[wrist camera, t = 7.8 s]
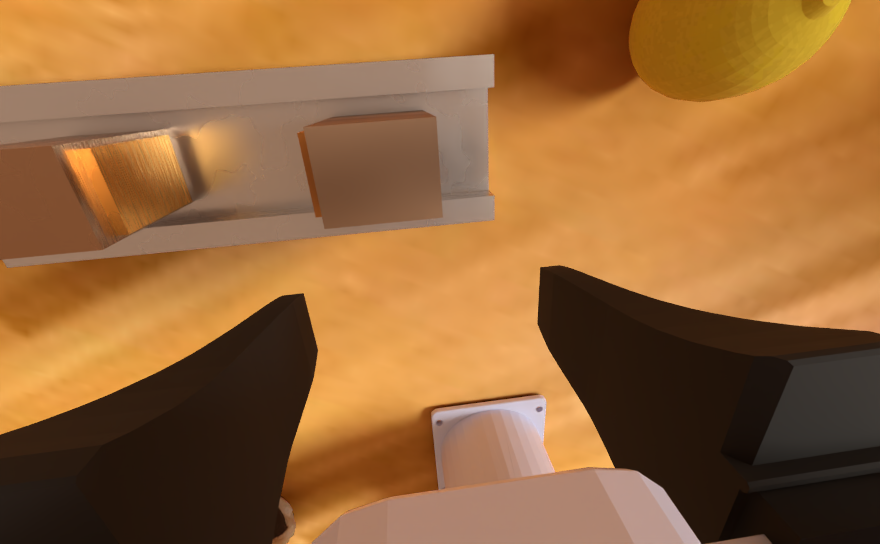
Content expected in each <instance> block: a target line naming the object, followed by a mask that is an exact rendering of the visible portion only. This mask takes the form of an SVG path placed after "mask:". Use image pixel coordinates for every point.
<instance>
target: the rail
mask: <svg viewBox="0 0 880 544" xmlns="http://www.w3.org/2000/svg"><path fill="white" fill-rule="evenodd" d="M490 87H494V54H488V55H473V56H457V57H442V58H427V59H411V60H396V61H380V62H365V63H350V64H334V65H319V66H304V67H288V68H273V69H257V70H242V71H227V72H211V73H196V74H181V75H165V76H150V77H134V78H119V79H104V80H88V81H73V82H57V83H42V84H27V85H11V86H0V260H3V262H4V263H5V265H6V266H7V268H10V267H20V266H31V265H41V264H51V263H61V262H71V261H82V260H92V259H102V258H112V257H122V256H133V255H143V254H153V253H163V252H174V251H184V250H194V249H204V248H214V247H225V246H235V245H245V244H255V243H265V242H276V241H286V240H296V239H306V238H316V237H327V236H337V235H347V234H357V233H367V232H378V231H388V230H398V229H408V228H418V227H429V226H439V225H449V224H459V223H470V222H480V221H490V220H494V195H493V194H492V193H491V192H490V191H489V184H488V88H490ZM417 110H424V111H426V112H428V113H430V114H432V115H434V116H436V119H437V135H438V150H439V165H440V181H441V196H442V212H443V218H434V219H424V220H414V221H403V222H393V223H383V224H373V225H362V226H352V227H342V228H332V229H324V224H323V220H322V217H315V212H314V208H313V203H312V199H311V194H310V190H309V185H308V180H307V176H306V171H305V167H304V162H303V158H302V153H301V148H300V144H299V139H298V135H297V133H298V132H301V131H304V129H303V127H305V126H308V125H311V124H314V123H317V122H320V121H322V120H325V119H328V118H331V117H338V116H352V115H365V114H378V113H391V112H404V111H417Z"/></svg>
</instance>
